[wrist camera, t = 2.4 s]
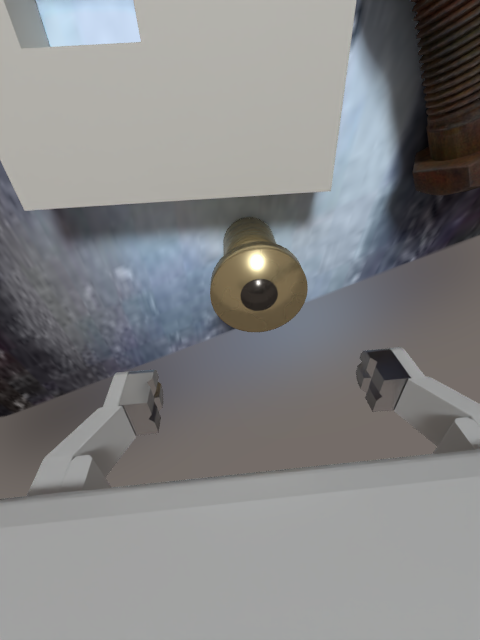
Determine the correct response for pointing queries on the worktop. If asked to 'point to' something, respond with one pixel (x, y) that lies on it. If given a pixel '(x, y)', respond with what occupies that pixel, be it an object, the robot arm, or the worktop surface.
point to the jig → (175, 103)
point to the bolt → (449, 95)
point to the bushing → (256, 279)
